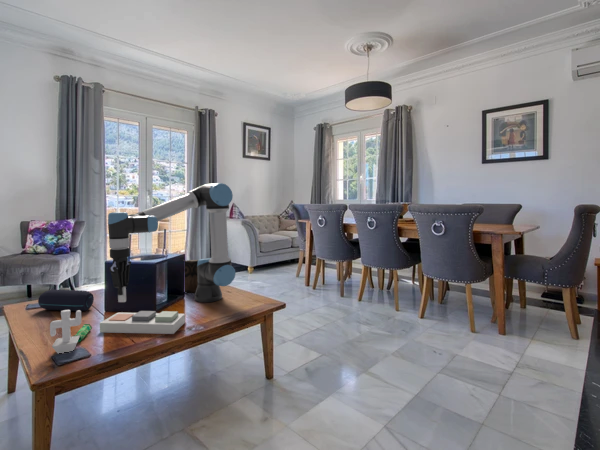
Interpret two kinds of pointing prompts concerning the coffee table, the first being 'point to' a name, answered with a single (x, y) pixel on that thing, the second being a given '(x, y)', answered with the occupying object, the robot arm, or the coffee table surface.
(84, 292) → the portable speaker
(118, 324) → the keypad
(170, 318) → the sage key
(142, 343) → the coffee table surface
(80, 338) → the candy
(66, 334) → the figurine
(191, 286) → the owl
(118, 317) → the terracotta key
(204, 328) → the coffee table surface
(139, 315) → the charcoal key
